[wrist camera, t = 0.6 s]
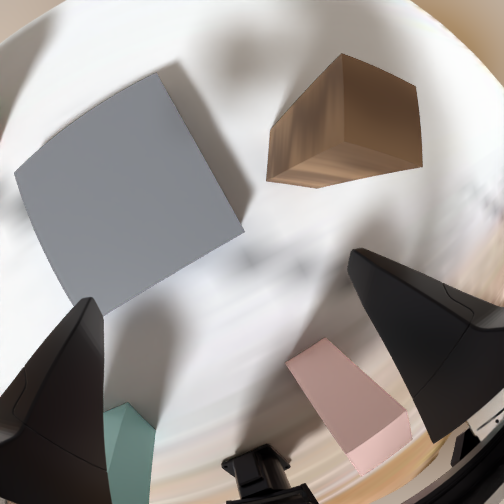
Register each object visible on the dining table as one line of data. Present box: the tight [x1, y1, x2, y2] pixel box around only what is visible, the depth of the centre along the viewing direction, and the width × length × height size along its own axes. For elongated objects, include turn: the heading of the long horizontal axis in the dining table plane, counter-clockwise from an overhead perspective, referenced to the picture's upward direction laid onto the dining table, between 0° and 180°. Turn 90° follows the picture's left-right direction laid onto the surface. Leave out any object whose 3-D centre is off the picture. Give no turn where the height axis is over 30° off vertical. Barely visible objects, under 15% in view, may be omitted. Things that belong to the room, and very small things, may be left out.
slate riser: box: [14, 73, 245, 316], centre depth 18 cm, size 14×14×3 cm
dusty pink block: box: [285, 337, 412, 476], centre depth 18 cm, size 4×4×12 cm
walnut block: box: [266, 53, 423, 189], centre depth 16 cm, size 4×4×12 cm
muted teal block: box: [103, 402, 156, 504], centre depth 15 cm, size 4×4×12 cm
